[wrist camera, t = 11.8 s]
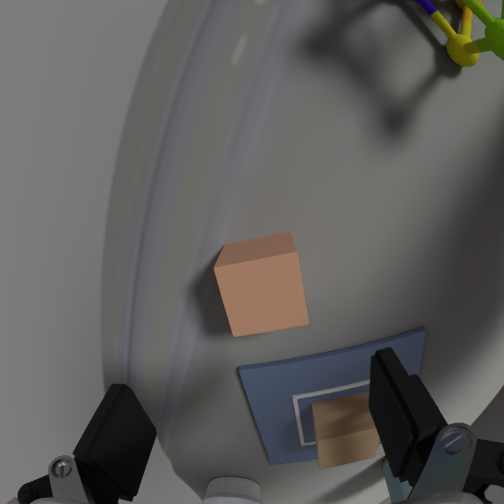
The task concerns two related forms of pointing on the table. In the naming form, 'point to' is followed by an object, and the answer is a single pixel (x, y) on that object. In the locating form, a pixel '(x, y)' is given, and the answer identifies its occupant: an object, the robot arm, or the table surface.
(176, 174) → the table surface
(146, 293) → the table surface
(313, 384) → the board
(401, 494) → the bottle
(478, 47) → the educational toy
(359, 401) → the oak block
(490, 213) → the table surface
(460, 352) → the table surface
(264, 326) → the terracotta cube
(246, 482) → the ramekin
